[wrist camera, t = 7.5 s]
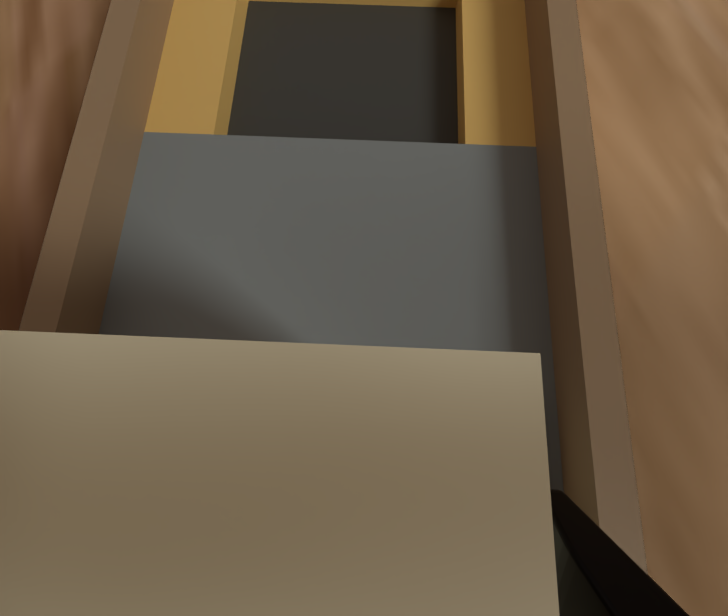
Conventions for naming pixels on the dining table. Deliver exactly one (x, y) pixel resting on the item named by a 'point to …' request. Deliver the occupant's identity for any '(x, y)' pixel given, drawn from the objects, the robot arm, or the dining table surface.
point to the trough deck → (352, 198)
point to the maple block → (271, 479)
